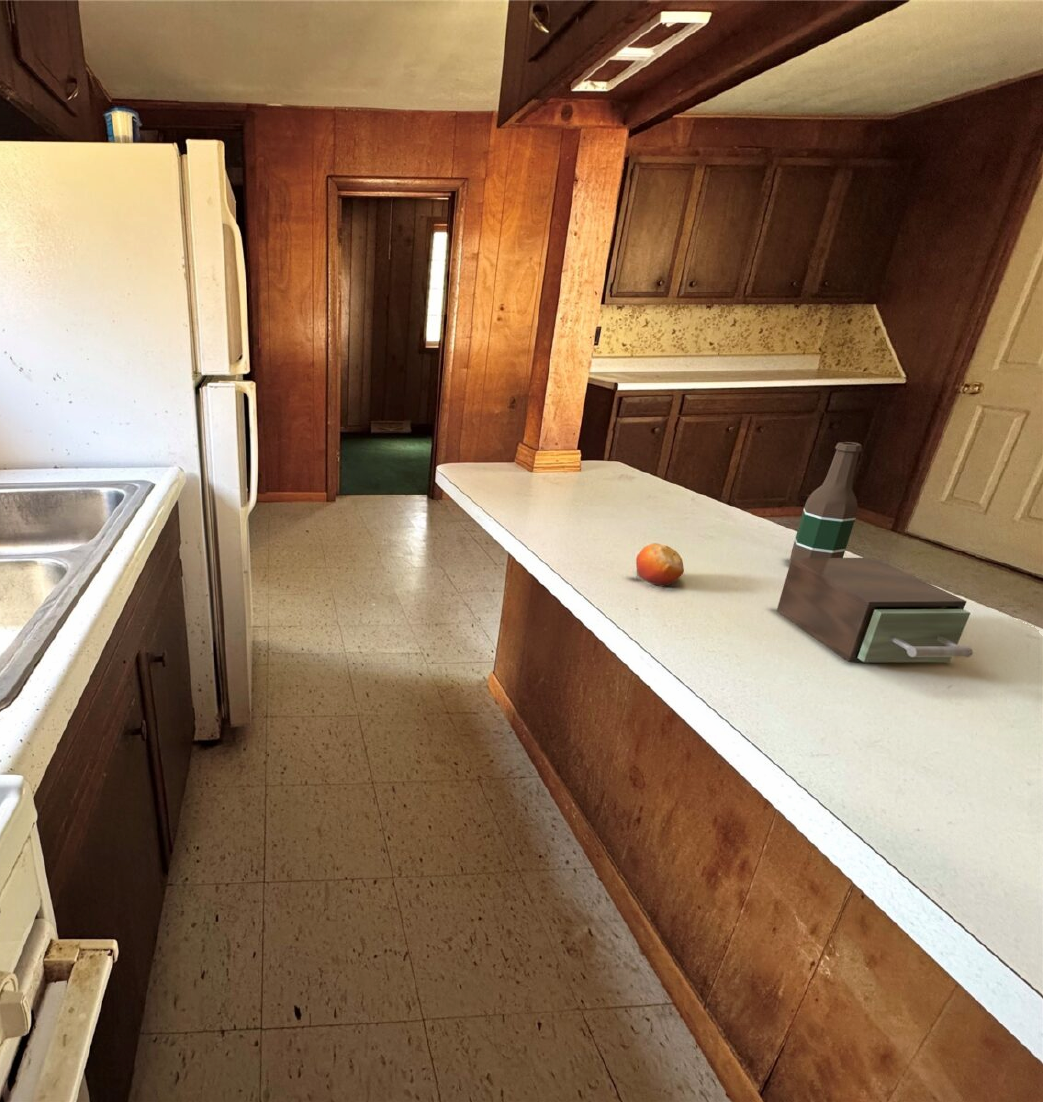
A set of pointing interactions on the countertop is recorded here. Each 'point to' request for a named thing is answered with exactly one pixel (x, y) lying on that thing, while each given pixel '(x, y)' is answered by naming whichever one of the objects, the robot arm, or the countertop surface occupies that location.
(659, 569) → the fruit
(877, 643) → the drawer
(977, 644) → the countertop surface
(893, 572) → the cabinet
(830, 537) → the beer bottle
